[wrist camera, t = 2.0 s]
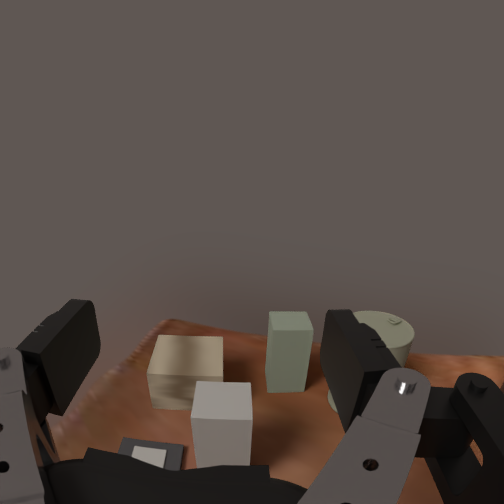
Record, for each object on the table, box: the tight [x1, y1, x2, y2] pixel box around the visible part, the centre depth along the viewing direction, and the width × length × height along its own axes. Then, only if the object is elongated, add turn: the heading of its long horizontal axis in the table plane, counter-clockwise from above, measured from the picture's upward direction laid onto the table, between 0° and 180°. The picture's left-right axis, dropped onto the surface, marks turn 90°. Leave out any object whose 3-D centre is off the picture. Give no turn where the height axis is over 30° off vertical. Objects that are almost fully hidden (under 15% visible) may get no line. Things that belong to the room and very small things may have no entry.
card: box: [118, 437, 184, 471], centre depth 27 cm, size 7×6×1 cm
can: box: [328, 311, 415, 413], centre depth 38 cm, size 9×9×12 cm
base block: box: [147, 335, 223, 410], centre depth 40 cm, size 9×9×6 cm
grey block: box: [191, 381, 253, 468], centre depth 27 cm, size 5×5×10 cm
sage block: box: [265, 312, 314, 393], centre depth 42 cm, size 5×5×10 cm
